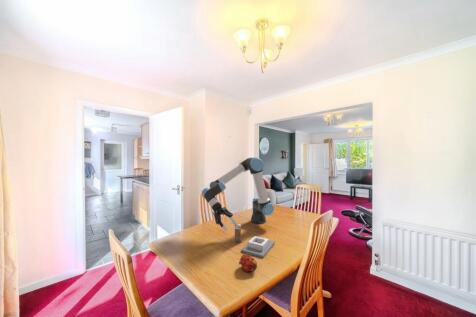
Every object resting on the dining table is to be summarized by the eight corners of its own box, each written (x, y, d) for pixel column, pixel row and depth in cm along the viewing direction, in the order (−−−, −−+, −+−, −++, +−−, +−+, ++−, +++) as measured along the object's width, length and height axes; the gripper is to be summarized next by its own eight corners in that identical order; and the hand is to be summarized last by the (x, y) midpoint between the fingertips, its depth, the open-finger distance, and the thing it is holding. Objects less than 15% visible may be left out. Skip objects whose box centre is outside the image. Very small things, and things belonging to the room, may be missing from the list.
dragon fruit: (240, 266, 110) (256, 278, 102) (233, 263, 105) (248, 276, 96) (247, 252, 113) (263, 263, 105) (240, 249, 107) (256, 260, 99)
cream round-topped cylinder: (236, 240, 141) (236, 223, 141) (241, 241, 139) (241, 224, 139) (233, 242, 137) (233, 225, 137) (238, 244, 135) (238, 226, 135)
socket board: (254, 239, 143) (254, 232, 143) (274, 243, 135) (274, 237, 135) (241, 251, 124) (241, 244, 124) (263, 258, 116) (263, 250, 116)
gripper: (221, 204, 160) (236, 224, 152) (202, 211, 138) (218, 235, 131) (226, 198, 157) (242, 219, 149) (207, 205, 135) (224, 229, 128)
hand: (231, 227), depth 140 cm, fingers open, 13 cm apart
